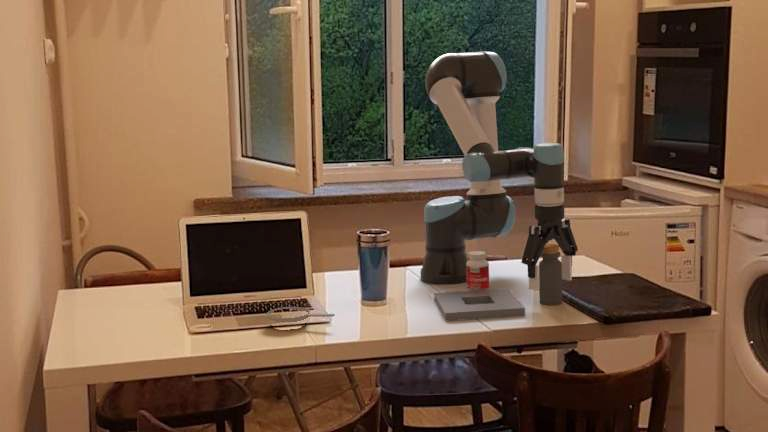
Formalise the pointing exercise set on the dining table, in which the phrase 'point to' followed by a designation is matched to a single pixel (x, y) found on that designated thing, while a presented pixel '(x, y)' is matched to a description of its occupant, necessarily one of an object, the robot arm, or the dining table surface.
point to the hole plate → (478, 304)
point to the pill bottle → (477, 271)
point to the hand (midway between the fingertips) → (550, 284)
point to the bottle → (550, 276)
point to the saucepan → (296, 317)
